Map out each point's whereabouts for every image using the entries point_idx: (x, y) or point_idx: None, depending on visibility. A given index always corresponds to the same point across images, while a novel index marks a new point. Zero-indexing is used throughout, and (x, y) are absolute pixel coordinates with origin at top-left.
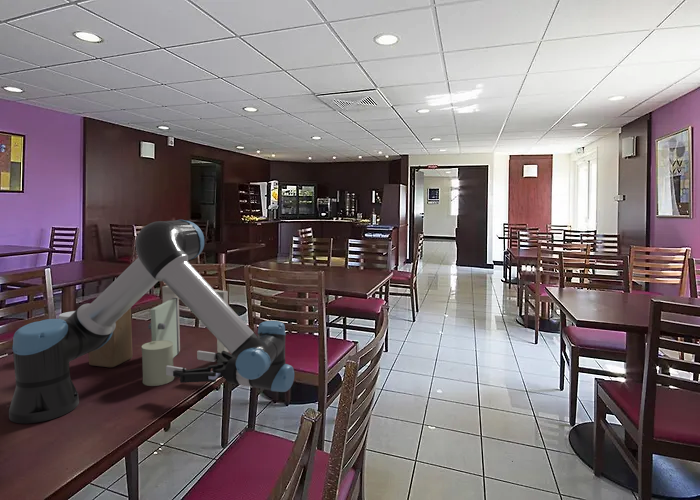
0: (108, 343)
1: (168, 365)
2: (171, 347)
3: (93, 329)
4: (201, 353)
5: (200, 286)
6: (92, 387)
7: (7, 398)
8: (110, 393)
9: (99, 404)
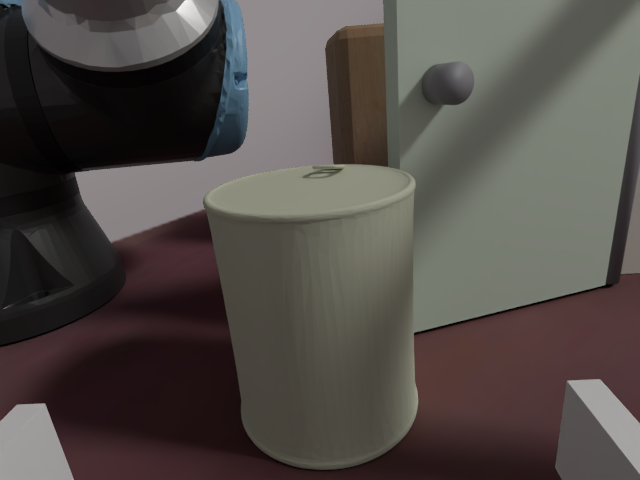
0: (341, 159)
1: (36, 410)
2: (337, 229)
3: (35, 29)
4: (607, 456)
5: None
6: (200, 287)
7: (129, 236)
8: (146, 345)
9: (29, 378)
